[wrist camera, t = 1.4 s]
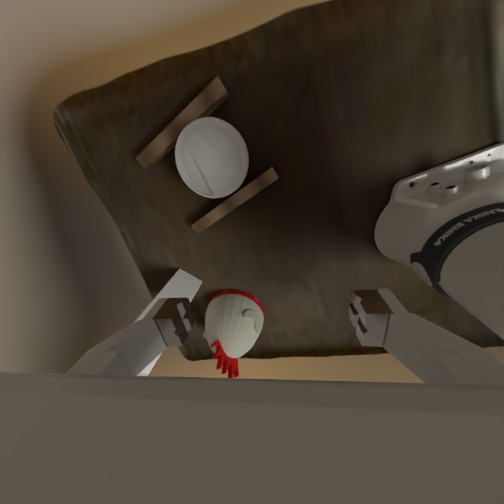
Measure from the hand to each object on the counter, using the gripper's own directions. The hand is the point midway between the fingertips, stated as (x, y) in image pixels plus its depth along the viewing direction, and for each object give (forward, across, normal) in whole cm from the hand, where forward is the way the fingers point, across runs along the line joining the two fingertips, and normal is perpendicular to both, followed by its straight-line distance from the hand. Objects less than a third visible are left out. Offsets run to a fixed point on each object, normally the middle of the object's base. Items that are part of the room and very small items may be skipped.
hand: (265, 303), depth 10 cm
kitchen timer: (+29, +12, +27) cm, 41 cm away
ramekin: (+30, +9, -7) cm, 32 cm away
